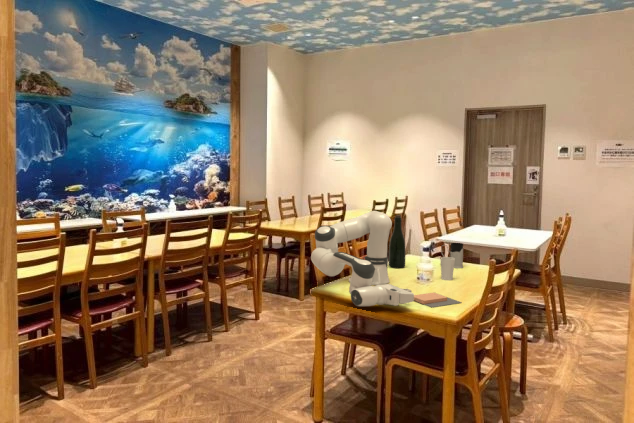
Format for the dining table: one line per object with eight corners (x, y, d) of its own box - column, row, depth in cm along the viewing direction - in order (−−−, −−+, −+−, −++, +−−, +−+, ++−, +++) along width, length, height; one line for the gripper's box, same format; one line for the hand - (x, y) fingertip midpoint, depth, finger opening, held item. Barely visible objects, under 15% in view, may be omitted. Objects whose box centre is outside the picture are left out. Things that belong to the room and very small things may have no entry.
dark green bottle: (408, 266, 319) (409, 215, 316) (399, 269, 312) (400, 216, 308) (394, 264, 326) (395, 214, 323) (385, 266, 318) (386, 215, 315)
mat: (431, 307, 229) (431, 307, 229) (405, 297, 247) (405, 296, 247) (461, 303, 237) (461, 302, 237) (434, 293, 255) (434, 292, 255)
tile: (423, 300, 233) (447, 297, 240) (410, 295, 242) (433, 292, 248) (423, 304, 233) (447, 300, 240) (410, 299, 242) (433, 295, 249)
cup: (456, 280, 283) (456, 259, 281) (442, 280, 282) (443, 259, 281) (451, 277, 290) (452, 256, 289) (437, 277, 290) (438, 257, 289)
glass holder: (462, 268, 314) (463, 245, 313) (439, 267, 319) (440, 243, 318) (463, 266, 322) (464, 243, 321) (441, 264, 327) (442, 241, 326)
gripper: (372, 295, 238) (396, 292, 244) (397, 306, 219) (423, 303, 226) (372, 282, 237) (396, 279, 243) (398, 292, 219) (423, 289, 225)
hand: (409, 291), depth 234 cm, fingers closed
